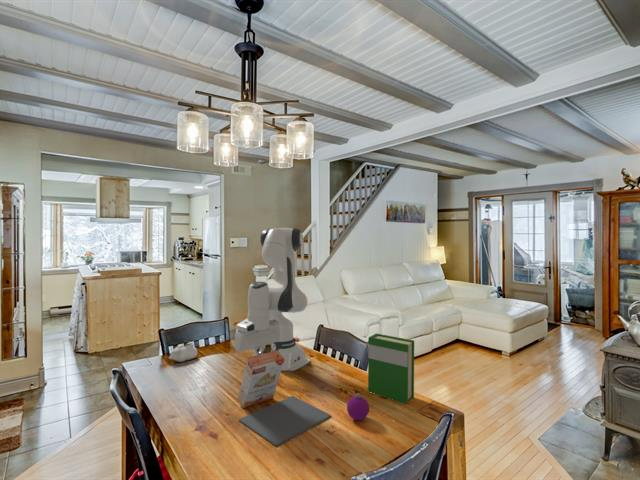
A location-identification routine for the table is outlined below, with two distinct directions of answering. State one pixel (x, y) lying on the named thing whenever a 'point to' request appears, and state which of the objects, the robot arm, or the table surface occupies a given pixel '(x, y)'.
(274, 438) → the mat
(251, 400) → the cracker box
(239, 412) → the table surface
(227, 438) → the table surface
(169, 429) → the table surface
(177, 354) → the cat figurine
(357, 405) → the christmas ornament
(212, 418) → the table surface
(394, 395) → the hardback book
